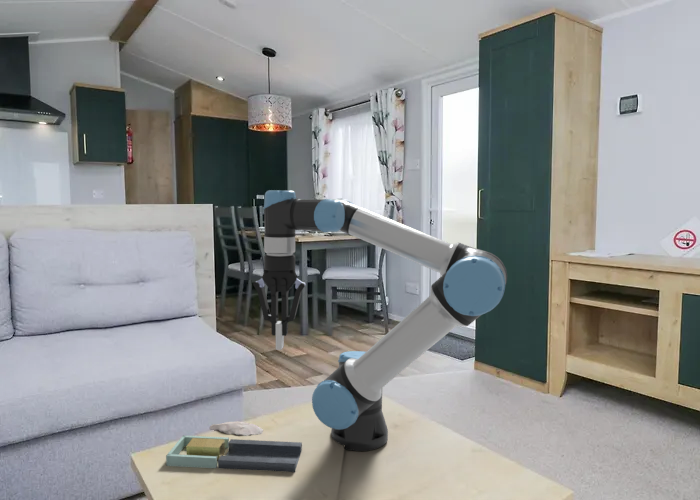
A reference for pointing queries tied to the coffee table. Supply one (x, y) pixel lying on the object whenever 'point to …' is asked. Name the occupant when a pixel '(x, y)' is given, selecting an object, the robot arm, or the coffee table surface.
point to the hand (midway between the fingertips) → (279, 347)
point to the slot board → (261, 455)
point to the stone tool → (237, 428)
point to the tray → (191, 460)
